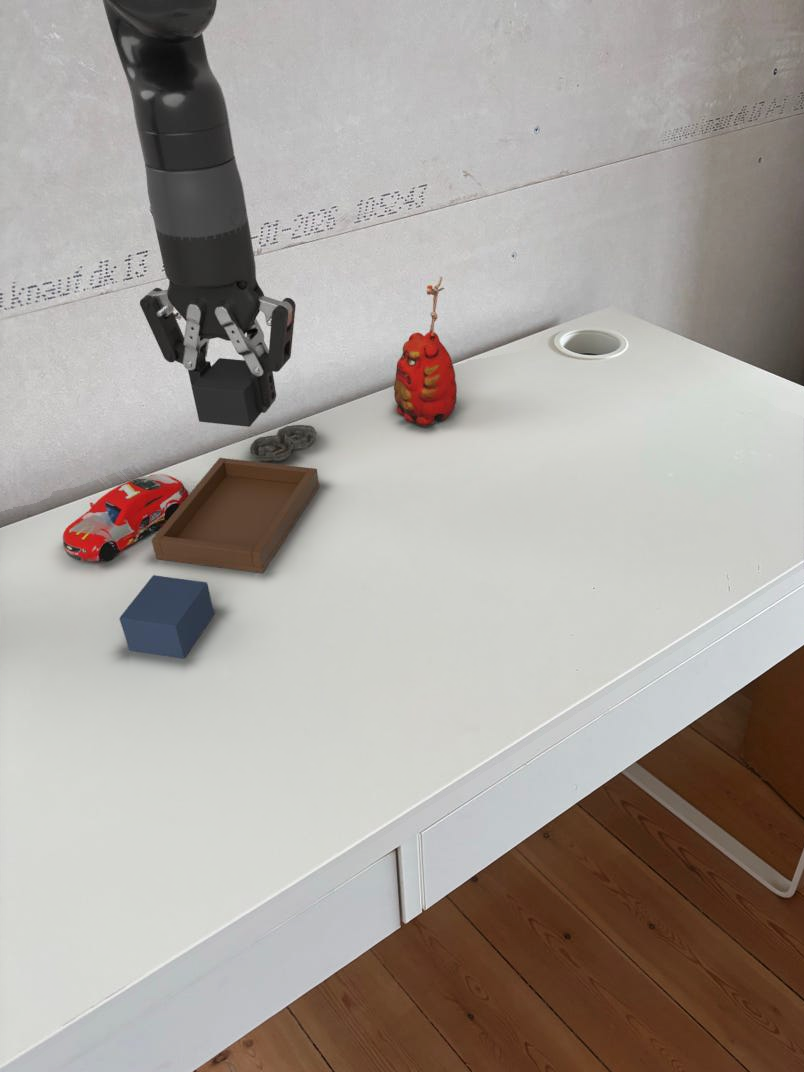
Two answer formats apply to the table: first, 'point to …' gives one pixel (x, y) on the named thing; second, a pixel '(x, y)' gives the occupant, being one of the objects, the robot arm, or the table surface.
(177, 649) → the blue block
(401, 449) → the table surface
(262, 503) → the brown tray
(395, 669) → the table surface
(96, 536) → the race car
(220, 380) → the black block
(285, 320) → the robot arm
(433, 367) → the red clay folk toy
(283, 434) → the corroded twin loop
